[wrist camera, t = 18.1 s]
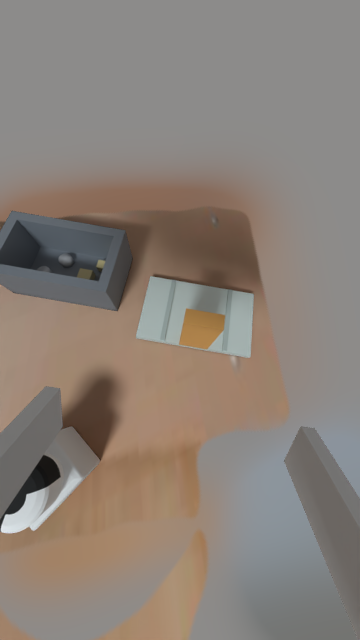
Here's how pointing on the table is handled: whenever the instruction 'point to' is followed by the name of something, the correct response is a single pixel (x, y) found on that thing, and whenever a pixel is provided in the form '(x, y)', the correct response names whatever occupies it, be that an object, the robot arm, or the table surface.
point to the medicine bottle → (50, 482)
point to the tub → (64, 260)
